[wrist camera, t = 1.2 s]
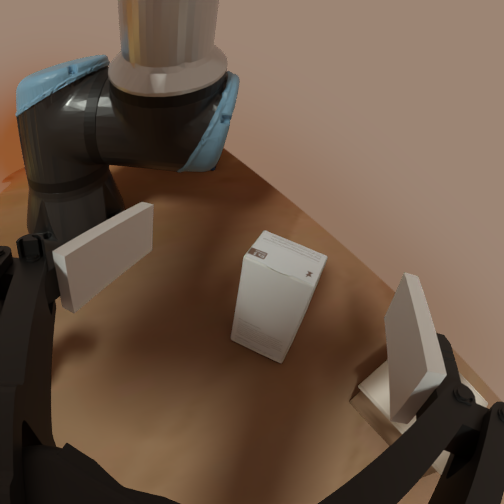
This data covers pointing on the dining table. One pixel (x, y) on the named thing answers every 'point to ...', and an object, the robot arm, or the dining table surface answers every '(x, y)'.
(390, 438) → the podium
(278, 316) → the skincare box
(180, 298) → the dining table surface
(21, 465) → the robot arm
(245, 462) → the dining table surface
